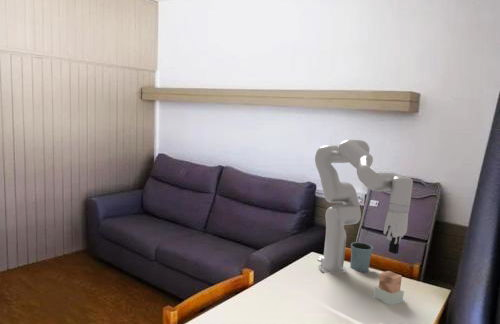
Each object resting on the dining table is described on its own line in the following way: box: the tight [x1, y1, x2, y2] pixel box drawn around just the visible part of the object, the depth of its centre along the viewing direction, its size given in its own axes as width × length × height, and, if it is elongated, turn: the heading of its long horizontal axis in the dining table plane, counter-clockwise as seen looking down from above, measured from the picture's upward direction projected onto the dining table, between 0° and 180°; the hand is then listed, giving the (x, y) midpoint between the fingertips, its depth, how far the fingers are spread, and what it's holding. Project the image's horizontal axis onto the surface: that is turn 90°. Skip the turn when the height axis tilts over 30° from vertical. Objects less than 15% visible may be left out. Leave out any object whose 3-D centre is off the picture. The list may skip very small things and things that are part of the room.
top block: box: [378, 270, 403, 293], centre depth 163 cm, size 6×6×6 cm
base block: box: [373, 285, 404, 306], centre depth 164 cm, size 8×8×4 cm
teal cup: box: [349, 241, 374, 274], centre depth 196 cm, size 10×10×12 cm
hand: (393, 252), depth 162 cm, fingers closed
